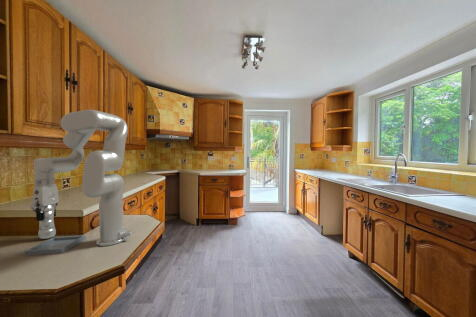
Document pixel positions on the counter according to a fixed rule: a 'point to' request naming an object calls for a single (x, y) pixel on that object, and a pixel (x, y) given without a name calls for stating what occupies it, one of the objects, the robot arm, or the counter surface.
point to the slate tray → (55, 245)
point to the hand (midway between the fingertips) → (46, 218)
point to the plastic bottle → (47, 223)
